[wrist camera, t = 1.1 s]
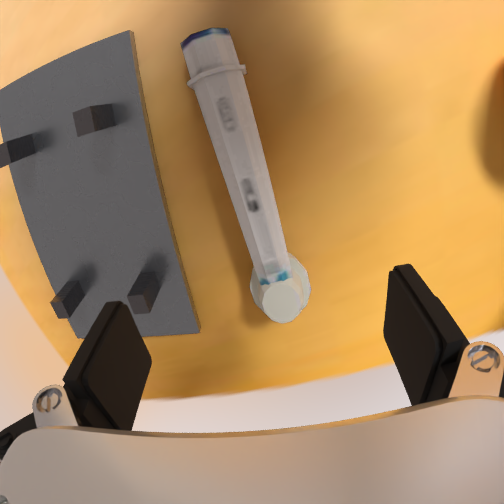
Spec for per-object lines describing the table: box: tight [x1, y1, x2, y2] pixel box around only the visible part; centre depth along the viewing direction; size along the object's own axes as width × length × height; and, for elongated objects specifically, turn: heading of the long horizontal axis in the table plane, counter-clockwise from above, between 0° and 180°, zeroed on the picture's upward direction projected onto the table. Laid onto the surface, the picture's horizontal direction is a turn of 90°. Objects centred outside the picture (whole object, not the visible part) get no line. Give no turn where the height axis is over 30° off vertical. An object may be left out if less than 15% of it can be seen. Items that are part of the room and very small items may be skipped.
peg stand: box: [0, 30, 201, 338], centre depth 26 cm, size 30×16×5 cm, turn 8°
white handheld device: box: [181, 28, 311, 323], centre depth 25 cm, size 5×7×25 cm
